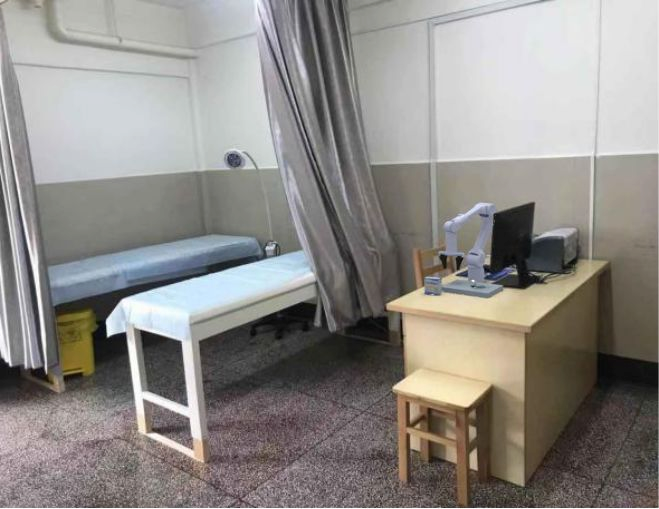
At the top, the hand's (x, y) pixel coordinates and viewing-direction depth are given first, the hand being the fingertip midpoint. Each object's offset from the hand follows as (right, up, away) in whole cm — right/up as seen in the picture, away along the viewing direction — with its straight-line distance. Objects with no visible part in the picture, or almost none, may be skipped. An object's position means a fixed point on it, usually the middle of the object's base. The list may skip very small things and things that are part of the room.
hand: (451, 269), depth 290 cm
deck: (+9, -11, -7) cm, 16 cm away
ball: (+9, -7, -8) cm, 14 cm away
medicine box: (-11, -13, -9) cm, 19 cm away
